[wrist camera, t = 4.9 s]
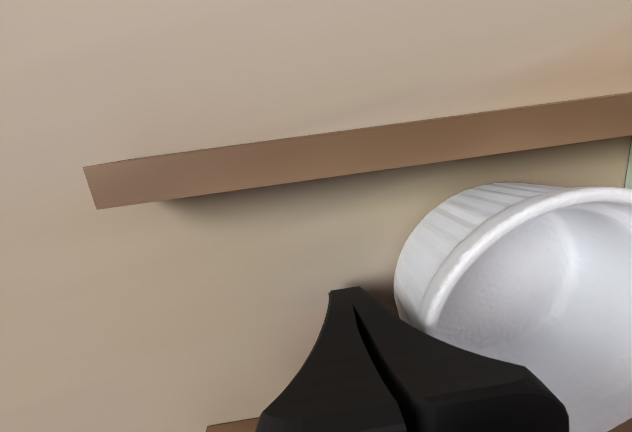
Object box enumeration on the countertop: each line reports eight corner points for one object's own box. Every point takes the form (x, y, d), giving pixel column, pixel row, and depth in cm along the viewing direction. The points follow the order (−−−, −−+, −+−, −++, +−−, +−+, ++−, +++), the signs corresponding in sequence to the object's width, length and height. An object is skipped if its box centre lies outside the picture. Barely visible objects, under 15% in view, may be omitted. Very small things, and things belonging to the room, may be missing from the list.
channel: (618, 377, 15) (680, 423, 13) (213, 446, 14) (197, 509, 12) (669, 87, 12) (769, 75, 9) (129, 159, 11) (82, 167, 8)
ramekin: (584, 145, 12) (743, 152, 8) (580, 335, 14) (698, 420, 10) (361, 197, 12) (400, 234, 8) (395, 380, 14) (438, 484, 10)
